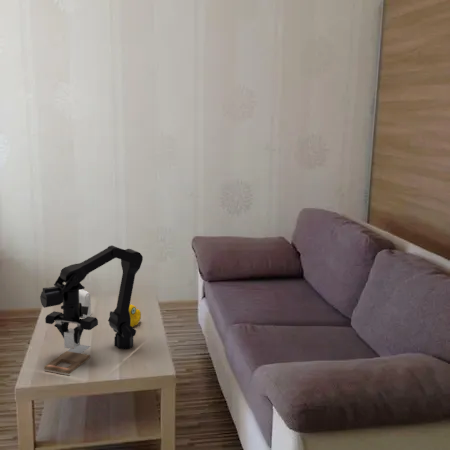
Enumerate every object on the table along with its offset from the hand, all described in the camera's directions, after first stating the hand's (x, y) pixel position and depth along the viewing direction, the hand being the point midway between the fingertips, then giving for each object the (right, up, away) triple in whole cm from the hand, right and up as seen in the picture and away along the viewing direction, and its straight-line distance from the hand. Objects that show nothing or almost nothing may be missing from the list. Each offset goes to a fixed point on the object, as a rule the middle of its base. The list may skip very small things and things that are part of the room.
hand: (72, 342), depth 210 cm
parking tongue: (0, -6, +11) cm, 12 cm away
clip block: (0, -1, 0) cm, 2 cm away
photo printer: (-9, +2, +48) cm, 49 cm away
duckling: (+16, -1, +38) cm, 41 cm away
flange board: (-1, -8, -1) cm, 8 cm away
